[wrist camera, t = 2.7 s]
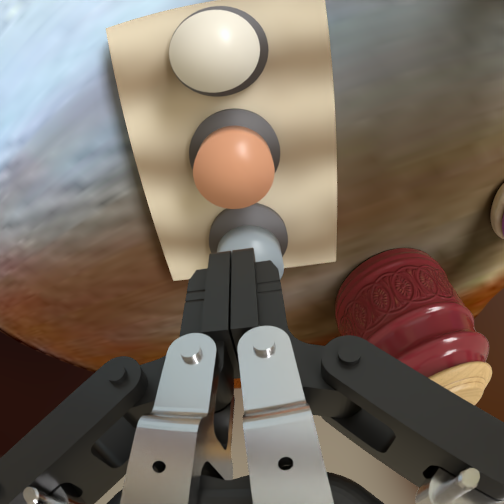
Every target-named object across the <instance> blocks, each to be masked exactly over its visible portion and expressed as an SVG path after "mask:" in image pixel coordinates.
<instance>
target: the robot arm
mask: <svg viewBox="0 0 504 504" xmlns="http://www.w3.org/2000/svg"><path fill="white" fill-rule="evenodd" d="M185 301H186V303H185V306H184V313H183V319H182V325H181V332H180V337H179V338H178V339H176V340H175V341H174V342H173V343H172V344H171V345H170V347H169V349H168V351H167V355H166V356H164V357H162V358H160V359H158V360H155V361H152V362H149V363H146V364H143V365H139V364H138V362H137V361H136V360H134V359H133V358H130V357H125V356H122V357H116V358H114V359H111V360H110V361H108V362H107V363H105V364H104V365H103V366H102V367H101V368H100V369H99V370H97V371H96V372H95V373H94V374H93V375H92V376H91V377H90V378H89V379H87V380H86V381H85V382H84V383H83V384H82V385H81V386H80V387H78V388H77V389H76V390H75V391H74V392H73V393H72V394H71V395H70V396H68V397H67V398H66V399H65V400H64V401H63V402H62V403H61V404H60V405H58V406H57V407H56V408H55V409H54V410H53V411H52V412H51V413H50V414H49V415H47V416H46V417H45V418H44V419H43V420H42V421H41V422H40V423H39V424H38V425H36V427H34V428H33V429H32V430H31V431H30V432H29V433H28V434H27V435H25V436H24V437H23V438H22V439H21V440H20V441H19V442H18V443H17V444H16V445H15V446H14V447H12V449H10V450H9V451H8V452H7V453H6V454H5V455H4V456H3V457H2V458H0V504H94V503H95V502H96V501H97V500H99V499H100V498H101V497H102V496H103V495H104V494H105V493H106V492H107V491H108V490H109V489H111V488H112V487H113V486H114V485H115V484H116V483H117V482H118V481H119V480H120V479H121V478H122V477H123V476H124V475H125V474H126V476H125V481H124V486H123V489H122V490H121V491H120V492H118V493H117V494H116V495H115V496H114V497H113V498H112V499H111V500H110V501H109V502H108V503H107V504H384V503H383V502H381V501H380V500H379V499H377V498H376V497H375V496H374V495H372V494H371V493H370V492H368V491H367V490H366V489H365V488H363V487H362V486H361V485H359V484H357V483H356V482H354V481H352V480H350V479H348V478H346V477H343V476H341V475H337V474H334V473H329V472H326V469H325V465H324V461H323V456H322V453H321V448H320V444H319V440H318V436H317V432H316V428H315V424H314V420H313V416H312V415H319V416H322V418H323V419H324V420H325V421H326V422H328V423H329V424H330V425H331V426H333V427H334V428H335V429H337V430H338V431H339V432H341V433H342V434H343V435H345V436H346V437H347V438H349V439H350V440H351V441H353V442H354V443H356V444H357V445H358V446H360V447H361V448H362V449H364V450H365V451H366V452H368V453H369V454H371V455H372V456H373V457H375V458H376V459H378V460H379V461H381V462H382V463H384V464H385V465H386V466H388V467H389V468H391V469H392V470H394V471H395V472H397V473H398V474H400V475H401V476H403V477H404V478H406V479H407V480H409V481H410V482H412V483H413V484H415V485H416V486H418V487H419V489H418V491H417V494H416V499H415V502H416V504H504V422H502V421H500V420H498V419H497V418H495V417H493V416H491V415H490V414H488V413H486V412H485V411H483V410H481V409H480V408H478V407H476V406H475V405H473V404H471V403H469V402H468V401H466V400H464V399H463V398H461V397H459V396H458V395H456V394H454V393H453V392H451V391H449V390H448V389H446V388H444V387H443V386H441V385H439V384H438V383H436V382H434V381H433V380H431V379H429V378H428V377H426V376H424V375H423V374H421V373H419V372H418V371H416V370H414V369H413V368H411V367H409V366H408V365H406V364H404V363H403V362H401V361H399V360H398V359H396V358H394V357H393V356H391V355H390V354H388V353H386V352H385V351H383V350H381V349H380V348H378V347H376V346H375V345H373V344H371V343H370V342H368V341H367V340H365V339H363V338H361V337H358V336H352V335H346V336H340V337H337V338H335V339H333V340H331V341H330V342H329V343H328V344H327V345H326V346H321V345H312V344H307V343H304V342H302V341H300V340H298V339H296V338H295V337H294V336H293V335H292V334H291V333H290V331H289V329H288V326H287V321H286V314H285V308H284V301H283V295H282V289H281V283H280V276H279V270H278V268H277V267H276V266H275V265H274V264H273V262H272V261H271V260H268V261H260V262H256V260H255V253H254V248H246V249H239V250H232V252H231V251H224V252H217V253H210V254H209V261H208V268H207V269H199V270H196V271H195V273H194V274H193V275H192V277H191V278H190V280H189V283H188V289H187V294H186V300H185ZM234 378H241V386H242V394H243V403H244V415H243V428H244V437H245V445H246V453H247V461H248V469H249V475H248V476H244V477H240V478H237V479H233V464H232V459H231V443H232V429H233V418H234V405H235V398H234Z"/></svg>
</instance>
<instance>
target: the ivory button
mask: <svg viewBox="0 0 504 504" xmlns="http://www.w3.org/2000/svg"><path fill="white" fill-rule="evenodd" d="M259 56H260V44H259V39H258V36H257V34H256V32H255V30H254V29H253V27H252V26H251V25H250V24H249V23H248V22H247V21H246V20H245V19H244V18H242V17H241V16H239V15H237V14H235V13H232V12H229V11H225V10H207V11H203V12H200V13H197V14H195V15H193V16H191V17H189V18H188V19H187V20H185V21H184V22H183V23H182V24H181V25H180V26H179V27H178V28H177V30H176V31H175V33H174V35H173V37H172V39H171V42H170V47H169V59H170V63H171V66H172V68H173V71H174V72H175V74H176V75H177V76H178V78H179V79H180V80H181V81H182V82H183V83H185V84H186V85H187V86H189V87H191V88H193V89H196V90H198V91H202V92H209V93H216V92H223V91H227V90H230V89H233V88H235V87H237V86H239V85H240V84H242V83H243V82H244V81H245V80H247V79H248V77H249V76H250V75H251V74H252V73H253V71H254V69H255V68H256V66H257V63H258V60H259Z"/></svg>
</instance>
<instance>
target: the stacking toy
mask: <svg viewBox="0 0 504 504" xmlns="http://www.w3.org/2000/svg"><path fill="white" fill-rule="evenodd" d="M491 225H492V228H493V230H494V232H495V233H496V234H497V236H499V237H500V238H502V239H504V183H503V184H502V186H501V187H500V188H499V190H498V192H497V194H496V196H495V198H494V201H493V204H492V208H491Z"/></svg>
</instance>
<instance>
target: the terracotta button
mask: <svg viewBox="0 0 504 504" xmlns="http://www.w3.org/2000/svg"><path fill="white" fill-rule="evenodd" d="M274 174H275V168H274V163H273V159H272V156H271V152H270V149H269V147H268V145H267V143H266V141H265V140H264V139H263V138H262V137H261V136H260V135H259V134H258V133H257V132H255V131H253V130H251V129H249V128H246V127H242V126H227V127H223V128H220V129H218V130H216V131H214V132H212V133H211V134H210V135H208V136H207V137H206V139H205V140H204V141H203V142H202V144H201V146H200V148H199V151H198V153H197V156H196V159H195V162H194V166H193V177H194V182H195V185H196V187H197V189H198V190H199V192H200V193H201V195H202V196H203V197H204V198H205V199H206V200H208V201H209V202H211V203H212V204H214V205H216V206H219V207H222V208H227V209H241V208H245V207H249V206H251V205H253V204H255V203H257V202H258V201H260V200H261V199H262V198H263V197H264V196H265V195H266V194H267V193H268V191H269V190H270V188H271V186H272V184H273V180H274Z"/></svg>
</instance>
